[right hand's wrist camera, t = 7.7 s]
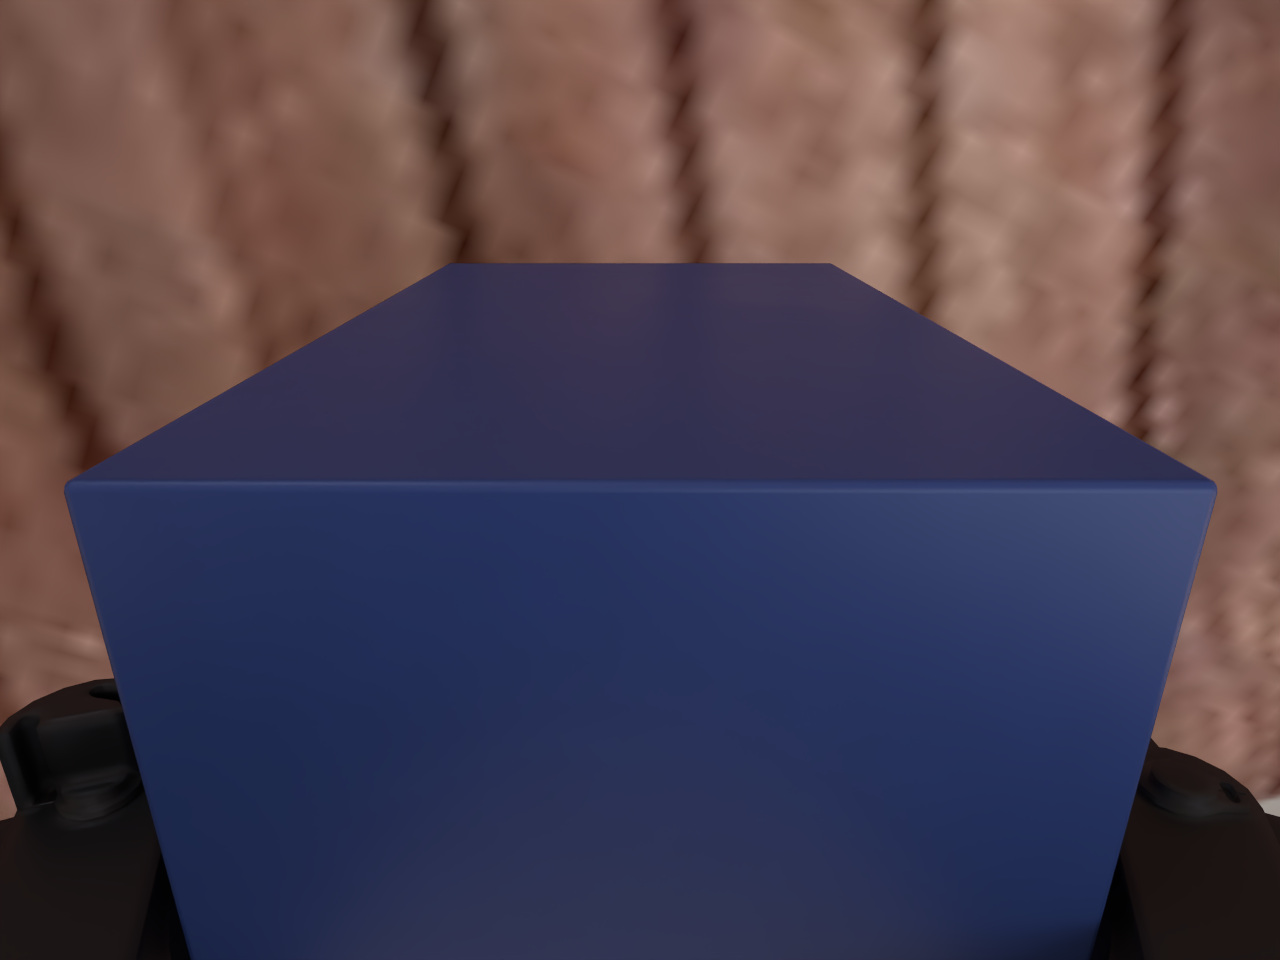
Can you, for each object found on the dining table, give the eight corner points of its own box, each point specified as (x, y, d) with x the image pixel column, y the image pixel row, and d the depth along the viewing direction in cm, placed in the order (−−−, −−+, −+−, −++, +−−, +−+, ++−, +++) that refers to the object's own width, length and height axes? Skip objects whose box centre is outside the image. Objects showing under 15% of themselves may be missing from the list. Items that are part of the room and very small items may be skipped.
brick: (446, 262, 14) (56, 481, 5) (833, 263, 14) (1224, 483, 5) (483, 703, 18) (295, 1360, 8) (797, 703, 18) (984, 1359, 8)
